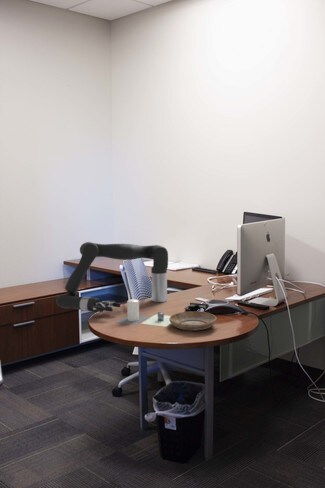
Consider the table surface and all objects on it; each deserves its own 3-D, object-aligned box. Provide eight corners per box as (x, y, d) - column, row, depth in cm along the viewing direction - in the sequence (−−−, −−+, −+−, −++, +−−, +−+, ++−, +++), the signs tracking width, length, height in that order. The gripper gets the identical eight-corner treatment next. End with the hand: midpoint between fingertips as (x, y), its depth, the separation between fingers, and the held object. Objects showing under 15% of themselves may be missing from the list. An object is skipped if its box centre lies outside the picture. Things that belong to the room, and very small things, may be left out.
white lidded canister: (130, 317, 273) (130, 298, 272) (141, 318, 271) (140, 300, 269) (125, 320, 268) (125, 301, 266) (135, 321, 265) (135, 302, 264)
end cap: (209, 315, 277) (209, 303, 276) (205, 318, 270) (205, 306, 269) (191, 313, 281) (191, 301, 280) (187, 316, 274) (187, 304, 273)
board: (155, 315, 278) (155, 314, 278) (179, 317, 272) (179, 317, 272) (141, 324, 262) (141, 323, 262) (166, 327, 256) (166, 326, 256)
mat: (130, 314, 279) (130, 314, 279) (150, 317, 274) (150, 316, 274) (115, 323, 264) (115, 322, 264) (136, 325, 260) (136, 324, 259)
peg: (159, 319, 269) (159, 311, 269) (164, 319, 268) (164, 312, 267) (156, 320, 266) (156, 313, 266) (162, 321, 265) (162, 313, 264)
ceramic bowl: (187, 317, 273) (187, 308, 272) (225, 325, 258) (225, 316, 257) (160, 328, 255) (159, 318, 255) (198, 337, 240) (198, 327, 240)
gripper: (82, 300, 272) (109, 303, 265) (96, 294, 285) (122, 297, 278) (83, 314, 273) (109, 317, 267) (97, 307, 286) (122, 310, 279)
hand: (116, 307), depth 272 cm, fingers open, 8 cm apart
